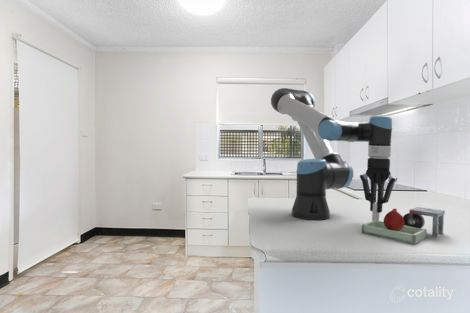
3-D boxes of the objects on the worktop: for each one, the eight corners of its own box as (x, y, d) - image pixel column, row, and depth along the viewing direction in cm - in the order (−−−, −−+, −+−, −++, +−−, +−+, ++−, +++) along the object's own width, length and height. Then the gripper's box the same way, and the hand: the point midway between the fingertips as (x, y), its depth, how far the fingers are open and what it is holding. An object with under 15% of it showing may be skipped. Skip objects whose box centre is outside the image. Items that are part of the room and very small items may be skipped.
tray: (361, 232, 97) (361, 224, 97) (375, 227, 104) (375, 220, 104) (414, 244, 85) (415, 235, 85) (426, 237, 92) (426, 229, 92)
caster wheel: (399, 230, 100) (399, 208, 100) (407, 226, 106) (408, 205, 106) (437, 237, 92) (437, 213, 92) (444, 233, 98) (444, 210, 97)
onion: (386, 235, 92) (387, 209, 92) (381, 230, 98) (381, 206, 97) (406, 236, 91) (407, 210, 91) (400, 231, 96) (400, 207, 96)
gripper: (357, 156, 112) (354, 218, 113) (393, 158, 102) (390, 226, 103) (365, 156, 117) (362, 215, 118) (401, 158, 107) (397, 222, 108)
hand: (375, 220), depth 110 cm, fingers closed
